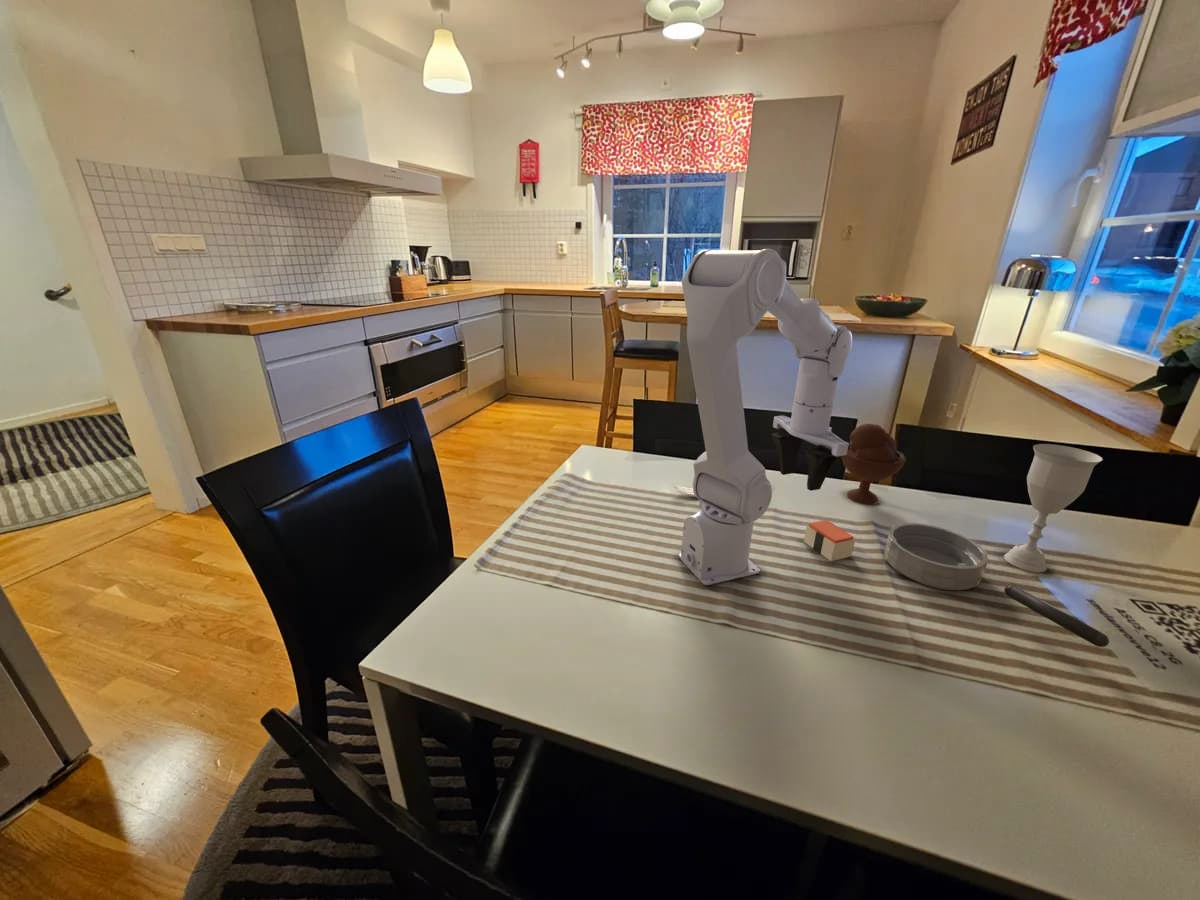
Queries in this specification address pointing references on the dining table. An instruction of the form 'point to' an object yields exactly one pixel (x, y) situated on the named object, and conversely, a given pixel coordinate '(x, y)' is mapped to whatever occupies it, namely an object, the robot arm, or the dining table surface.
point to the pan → (935, 556)
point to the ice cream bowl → (871, 460)
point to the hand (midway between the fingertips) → (799, 481)
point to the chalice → (1051, 494)
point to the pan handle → (1057, 616)
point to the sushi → (829, 540)
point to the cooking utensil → (685, 490)
